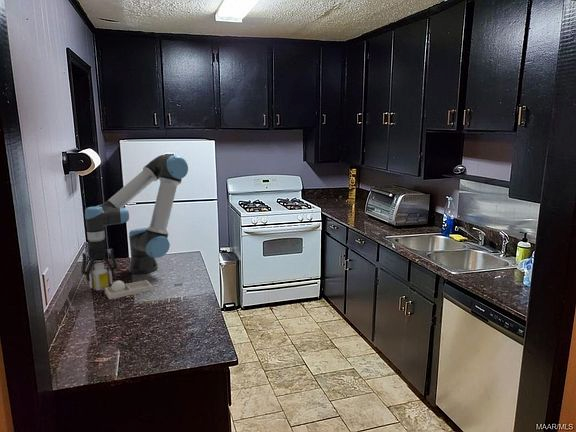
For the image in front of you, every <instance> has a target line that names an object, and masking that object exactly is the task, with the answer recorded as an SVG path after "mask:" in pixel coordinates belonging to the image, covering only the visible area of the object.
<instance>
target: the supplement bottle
mask: <svg viewBox="0 0 576 432" xmlns="http://www.w3.org/2000/svg"><path fill="white" fill-rule="evenodd" d="M105 266H106V265H105V263H104V262H98V263H93V268H94V269H93V270H92V271H91V276H92V285H93V290H94V291H105V288H107V287H110V281H109V272H108V269H107V268H105Z"/></svg>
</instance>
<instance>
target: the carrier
mask: <svg viewBox="0 0 576 432" xmlns="http://www.w3.org/2000/svg"><path fill="white" fill-rule="evenodd" d="M124 284H125V289H124V291H122V292H117V293H114V292H113V291H112V289H111V286H109V287H107V288H105V290H104V294H105V295H106V297H107V299H108V300H114V299H119V298H123V297H128V296H132V295H137V294H142V293H146V292H152V291H154V287H153V284H151V282H150V281H149V280H148V279H144V280H138V281H133V282H129V283H124Z"/></svg>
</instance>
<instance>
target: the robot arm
mask: <svg viewBox="0 0 576 432" xmlns="http://www.w3.org/2000/svg"><path fill="white" fill-rule="evenodd" d="M188 165H189V164H188V162H187V161H186V159H185V158H183V157H182V156H179V155H175V154H172V155H171V154H170V155H169V154H161V155H158V156H157V157H155V158H154V159H151V161H149V162H148V163H147V164H146V165H144V166H143V168H142V171H140V172H139V173H138V174H137V175H136V176H135V177H133V178H132V179H131V180H130V181H128V183H126V184H125V185H123V187H121V188H120V190H118V191H117V192H116V193H115V194H114V195H112V196H111V197H110V198H108V200H106V201H105V202H103V203H102V204H98V205H96V206H89V207H86V208H85V209H84V219H85V226H86V235H87V240H88V241H87V244H88V245H87V246H88V251H87V252H82V253H81V256H82V263H81V274H82V275H85V276H86V281H87V282H89V283H88V284H89V288H90V289H93V277H92V273H91V272H92V271H91V270H92V267H93V266H94V264H95V261H96V260H99V259H102V260H104V262H105V263H106V265H107V266H108V267H109V269H108V281H109V285H112V284H113V277H115V272H114V271H115V270H117V269H118V265H117V261H116V258H115V255H114V249H113V248H109V249H108V248H107V244H106V242H107V240H106V233H105V232H106V231H105V227H106V226H112V225H113V226H114V225H121V224H124V223H127V222H129V221H130V213H129V210H128V209H127V208H126V207H125V206H126V205H127V204H128V203H129V202H131V200H133V199H134V198H135V197H136V196H138V195H139V194H140V193H141V192H142V191H143V190H145V189H146V188H147V187H148V186H149V185H150V184H152V182H157V181H158V180H159V181H160V182H159V183H160V184H159V186H158V192H157V195H156V199H155V203H154V208H153V212H152V214H151V215H152V216H151V219H150V224H149V226H148V227H144V228H143V227H142V228H136V229H132V230H130V231H129V232H128V238H129V248H130V250H129V251H130V262H129V265H128V271H129V273H130V274H134V275H135V274H136V275H143V274H149V273H153V272H155V271H157V270H158V268H159V266H158V262H157V260H156V258H157V259H159V258H161V257H163V256H166V254H167V253H168V251H169V250H170V246H171V244H170V241H169V239H168V237H169V232H168V231H167V230H168V229H167V228H168V224H169V220H170V216H171V212H172V208H173V205H174V201H175V195H176V192H177V188H178V186H179V185H180V184H181V183H182V179H183V178H185V177H186V176H187V174H188V172H189V166H188ZM107 253H108V254H109V256H110V260H111V262H112V264H111V263H110V262H109V260H108V258H107V255H106V254H107ZM88 256H90V259H89V262H88V265H87V258H88ZM86 266H87V268H86Z"/></svg>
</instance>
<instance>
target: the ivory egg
mask: <svg viewBox="0 0 576 432" xmlns="http://www.w3.org/2000/svg"><path fill="white" fill-rule="evenodd" d="M112 283H113V284H111V286H110V287H111V289H112V291H113V292H114V293H117V292H122V291H124V289H125V284H126V283H125V282H124V281H122V280H115V281H114V282H113V281H112Z"/></svg>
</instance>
